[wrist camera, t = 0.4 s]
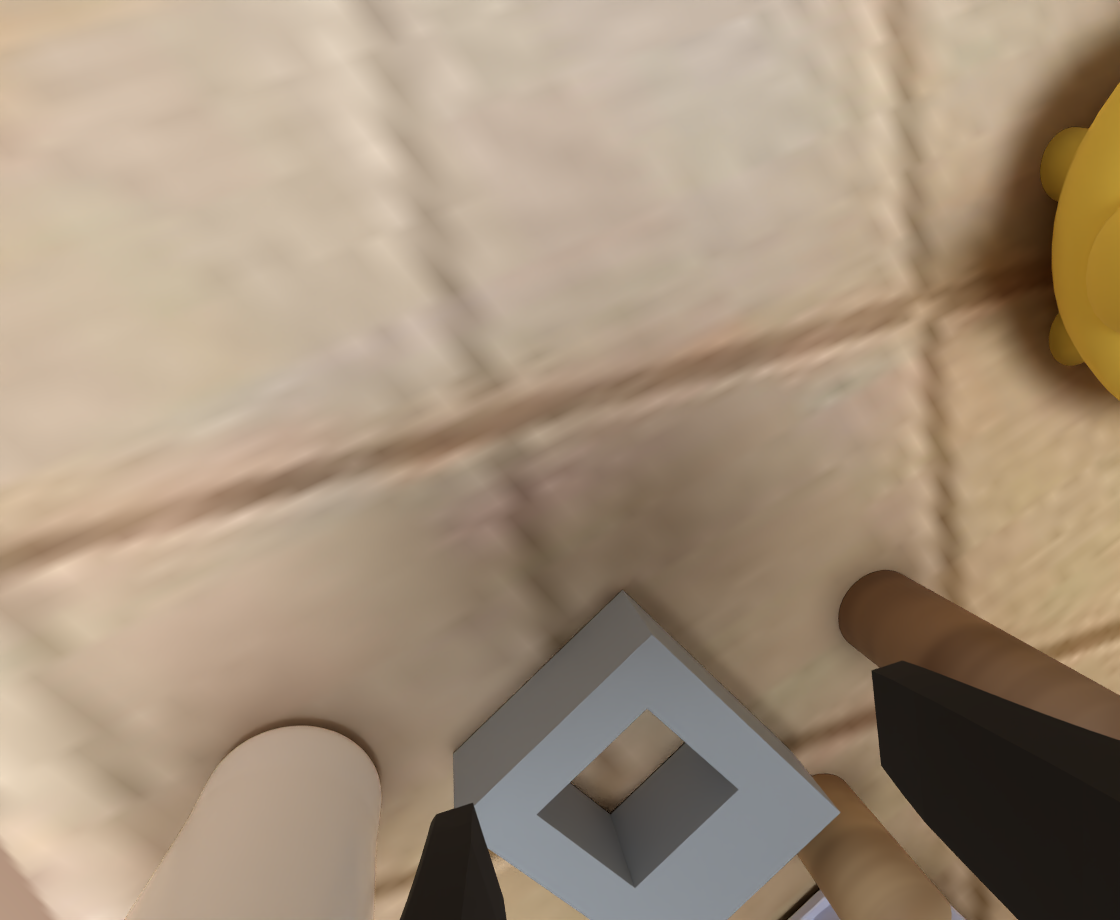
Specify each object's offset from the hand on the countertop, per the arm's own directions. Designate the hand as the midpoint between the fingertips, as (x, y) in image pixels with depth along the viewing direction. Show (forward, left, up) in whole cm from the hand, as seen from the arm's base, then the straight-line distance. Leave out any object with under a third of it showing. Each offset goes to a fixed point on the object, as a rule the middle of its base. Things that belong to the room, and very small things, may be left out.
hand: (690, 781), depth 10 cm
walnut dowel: (-10, -6, -10) cm, 15 cm away
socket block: (-7, +4, -10) cm, 13 cm away
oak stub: (-15, +1, -10) cm, 18 cm away
